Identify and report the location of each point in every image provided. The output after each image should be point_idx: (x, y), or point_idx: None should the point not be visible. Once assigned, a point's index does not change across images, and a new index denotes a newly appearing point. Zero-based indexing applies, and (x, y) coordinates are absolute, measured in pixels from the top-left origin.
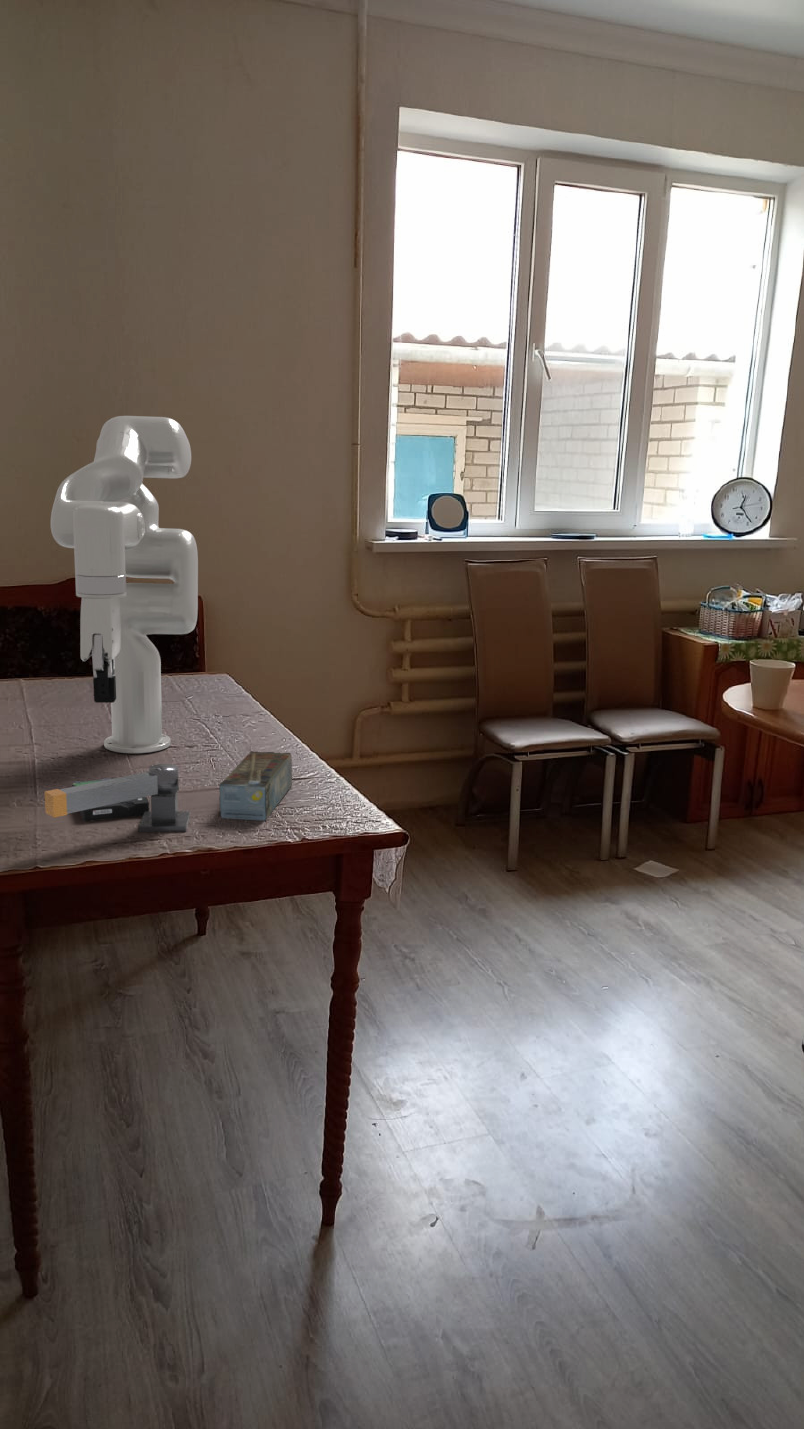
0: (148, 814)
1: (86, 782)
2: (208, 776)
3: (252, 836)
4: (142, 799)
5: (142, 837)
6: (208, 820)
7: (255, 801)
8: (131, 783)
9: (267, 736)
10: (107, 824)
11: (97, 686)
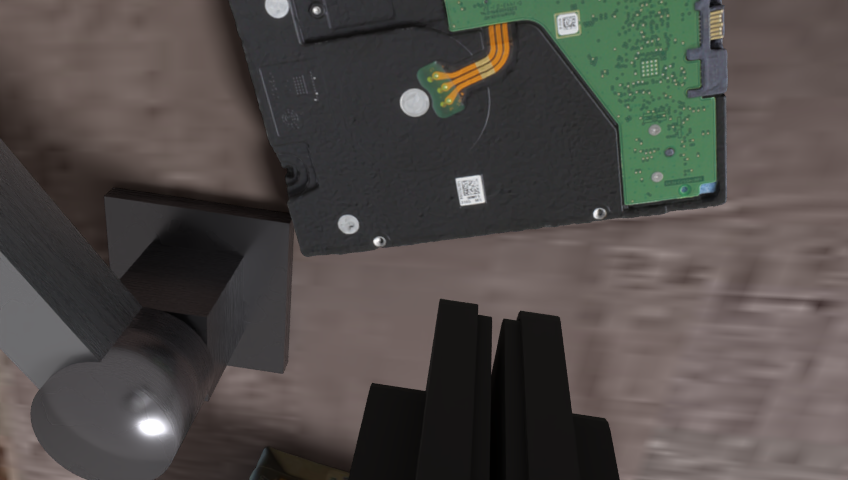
0: (249, 236)
1: None
2: (778, 463)
3: None
4: (342, 233)
5: (55, 197)
6: (239, 409)
7: None
8: None
9: None
10: (201, 66)
11: (415, 461)
